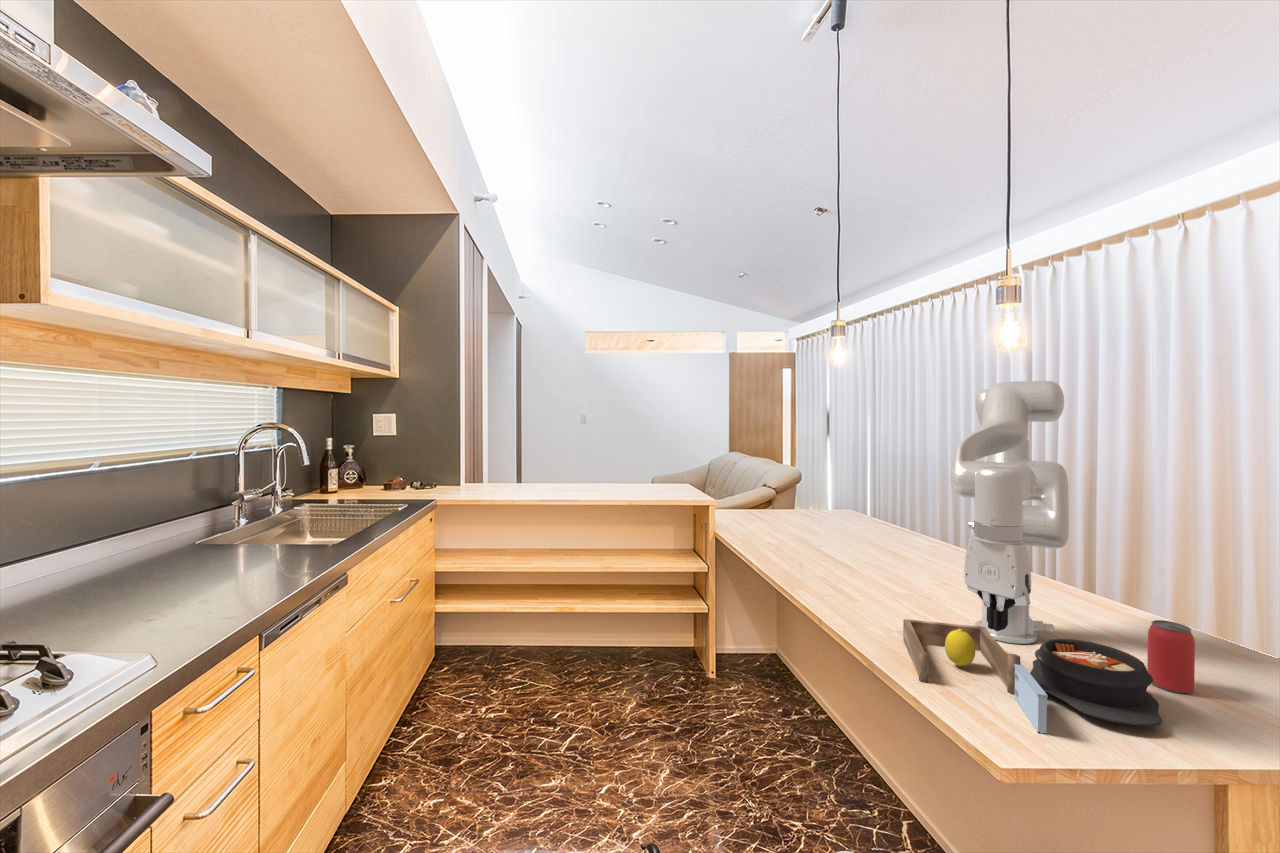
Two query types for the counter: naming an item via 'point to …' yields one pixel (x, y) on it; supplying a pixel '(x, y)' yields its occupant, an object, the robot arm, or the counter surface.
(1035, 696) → the gate
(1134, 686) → the casserole
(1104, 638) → the counter surface
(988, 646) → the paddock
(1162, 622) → the beer can
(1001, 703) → the counter surface
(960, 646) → the lemon
